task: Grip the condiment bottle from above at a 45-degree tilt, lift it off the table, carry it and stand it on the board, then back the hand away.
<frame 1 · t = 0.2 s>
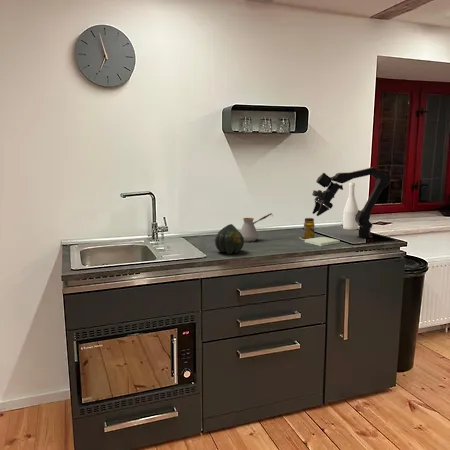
hand: (315, 214, 254), 14 cm above the counter, tool tilted 35°, fingers open, 9 cm apart
squash: (229, 252, 226), on the counter
condiment: (307, 239, 257), on the counter
board: (321, 242, 245), on the counter
wine bottle: (350, 229, 287), on the counter
coffee pot: (256, 240, 256), on the counter
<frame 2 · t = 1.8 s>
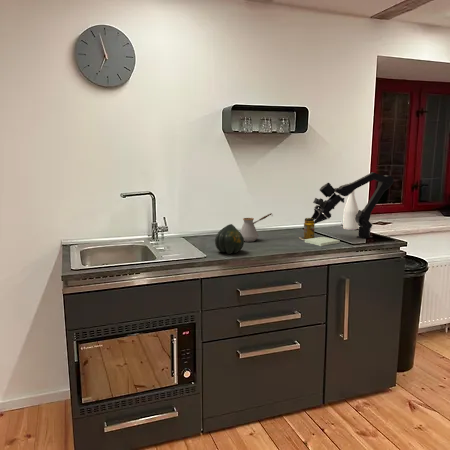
hand: (312, 221, 255), 10 cm above the counter, tool tilted 45°, fingers open, 9 cm apart
nothing on the counter moved.
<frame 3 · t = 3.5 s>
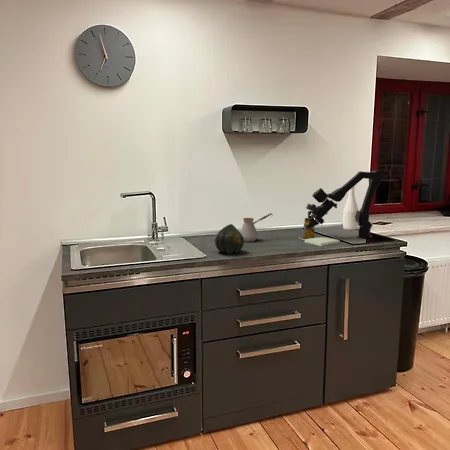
hand: (305, 227, 256), 7 cm above the counter, tool tilted 45°, fingers closed on condiment, 6 cm apart
condiment: (307, 239, 257), on the counter, touching gripper
everything else where it was.
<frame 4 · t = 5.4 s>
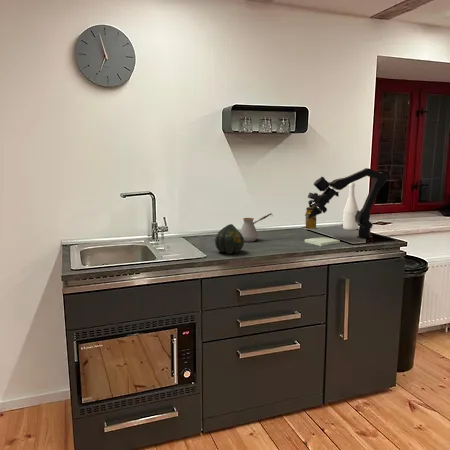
hand: (307, 216, 252), 13 cm above the counter, tool tilted 45°, fingers closed on condiment, 6 cm apart
condiment: (309, 228, 254), point 6 cm above the counter, touching gripper
everything else where it was.
when the fingers open (9 cm above the counter, at t = 7.7 s): condiment drops 1 cm, resting on board.
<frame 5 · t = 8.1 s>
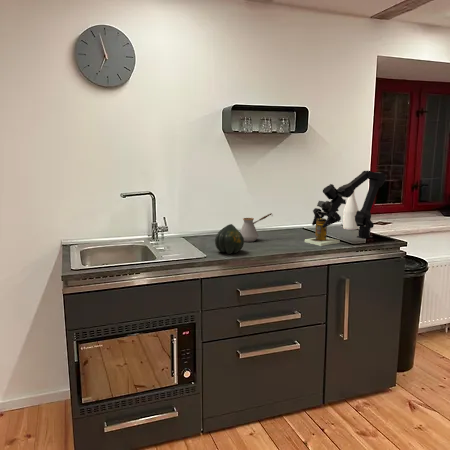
hand: (317, 226, 242), 10 cm above the counter, tool tilted 45°, fingers open, 9 cm apart
condiment: (319, 240, 244), point 1 cm above the counter, touching board
everything else where it was.
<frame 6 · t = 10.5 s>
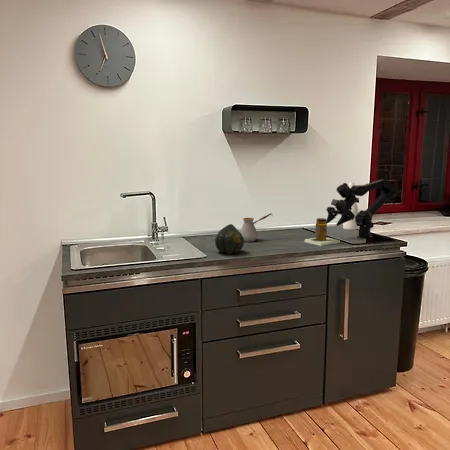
hand: (331, 224, 246), 10 cm above the counter, tool tilted 45°, fingers open, 9 cm apart
nothing on the counter moved.
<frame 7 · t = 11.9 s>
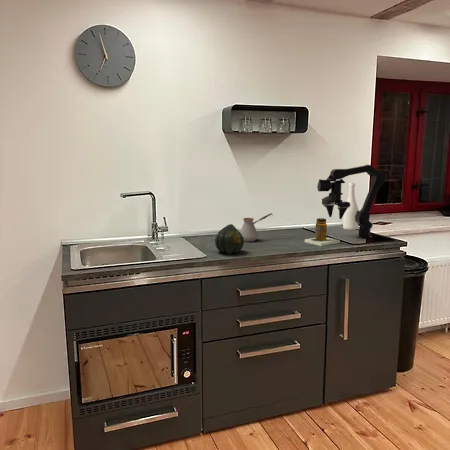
hand: (335, 218, 254), 12 cm above the counter, tool pointing down, fingers open, 9 cm apart
nothing on the counter moved.
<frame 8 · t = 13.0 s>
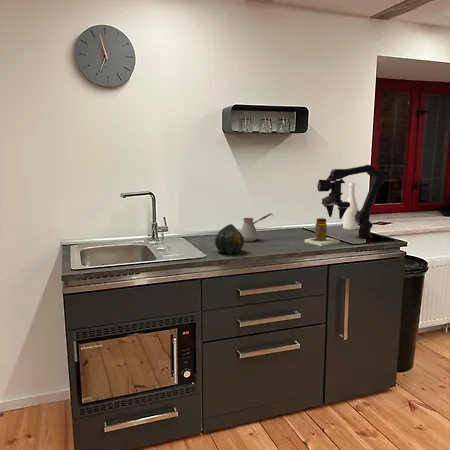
hand: (335, 218, 254), 12 cm above the counter, tool pointing down, fingers open, 9 cm apart
nothing on the counter moved.
at the end: condiment inside the target area on the board (1.1 cm from its centre), point 1.3 cm above the board's base; condiment tilted 0°; the gripper is holding nothing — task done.
